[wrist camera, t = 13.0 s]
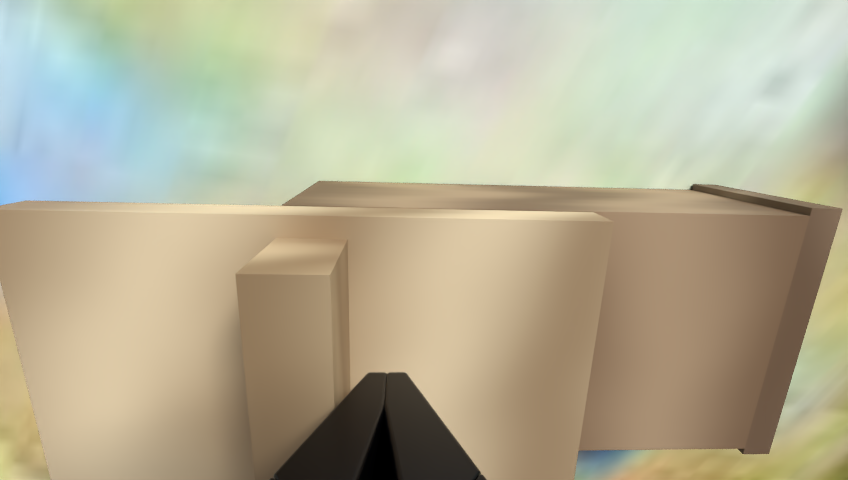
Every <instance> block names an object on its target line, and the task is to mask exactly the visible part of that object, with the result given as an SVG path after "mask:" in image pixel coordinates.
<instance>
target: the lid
mask: <svg viewBox="0 0 848 480" xmlns="http://www.w3.org/2000/svg"><path fill="white" fill-rule="evenodd" d="M613 224H614V221H612V220H609V219H607V218H605V217H603V216H601V215H598V214H596V213H594V212H554V211H506V210H457V209H409V208H360V207H312V206H263V205H215V204H166V203H118V202H69V201H21V202H16V203H11V204H6V205H1V206H0V282H1V286H2V290H3V294H4V298H5V301H6V305H7V309H8V313H9V317H10V321H11V325H12V329H13V333H14V337H15V341H16V345H17V349H18V352H19V356H20V360H21V364H22V368H23V372H24V376H25V380H26V384H27V388H28V392H29V396H30V400H31V404H32V407H33V411H34V415H35V419H36V423H37V427H38V431H39V435H40V439H41V443H42V447H43V451H44V455H45V459H46V462H47V466H48V470H49V474H50V478H51V480H269V479H270V478H273V475H274V474H275V472H276V471H277V470H278V469H279V468H280V467H281V466H282V465H283V464H284V463H285V462H286V461H287V460H288V458H289V457H290V456H291V455H292V454H293V453H294V452H295V451H296V450H297V449H298V448H299V447H300V445H301V444H302V443H303V442H304V441H305V440H306V439H307V438H308V437H309V436H310V435H311V434H312V433H313V431H314V430H315V429H316V428H317V427H318V426H319V425H320V424H321V423H322V422H323V421H324V420H325V418H326V417H327V416H328V415H329V414H330V413H331V412H332V411H333V410H334V409H335V408H336V407H337V405H338V404H339V403H340V402H341V401H342V400H343V399H344V398H345V397H346V396H347V395H348V394H349V393H350V391H351V390H352V389H353V388H354V387H355V386H356V385H357V384H358V383H359V382H360V381H361V380H362V378H363V377H364V376H365V375H366V374H367V373H369V372H385V373H389V372H405V373H407V374H408V376H409V377H410V378H411V380H412V381H413V382H414V384H415V385H416V386H417V388H418V389H419V390H420V392H421V393H422V394H423V396H424V397H425V398H426V400H427V401H428V402H429V404H430V405H431V406H432V408H433V409H434V410H435V412H436V413H437V414H438V416H439V417H440V418H441V420H442V421H443V422H444V424H445V425H446V426H447V428H448V429H449V430H450V432H451V433H452V434H453V436H454V437H455V438H456V440H457V441H458V442H459V444H460V445H461V446H462V448H463V449H464V450H465V452H466V453H467V454H468V456H469V457H470V458H471V460H472V461H473V462H474V464H475V465H476V466H477V468H478V469H479V470H480V472H481V474H482V475H484V477H485V478H486V479H487V480H574V476H575V470H576V463H577V457H578V450H579V444H580V438H581V431H582V425H583V418H584V412H585V405H586V399H587V392H588V386H589V379H590V373H591V366H592V360H593V354H594V347H595V341H596V334H597V328H598V321H599V315H600V308H601V302H602V295H603V289H604V282H605V276H606V270H607V263H608V257H609V250H610V244H611V237H612V231H613Z"/></svg>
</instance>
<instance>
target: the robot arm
mask: <svg viewBox="0 0 848 480" xmlns="http://www.w3.org/2000/svg"><path fill="white" fill-rule="evenodd" d="M269 480H487V479H486V478H485V477H484V475H482V474H481V472H480V470H479V469H478V468H477V466H476V465H475V464H474V462H473V461H472V460H471V458H470V457H469V456H468V454H467V453H466V452H465V450H464V449H463V448H462V446H461V445H460V444H459V442H458V441H457V440H456V438H455V437H454V436H453V434H452V433H451V432H450V430H449V429H448V428H447V426H446V425H445V424H444V422H443V421H442V420H441V418H440V417H439V416H438V414H437V413H436V412H435V410H434V409H433V408H432V406H431V405H430V404H429V402H428V401H427V400H426V398H425V397H424V396H423V394H422V393H421V392H420V390H419V389H418V388H417V386H416V385H415V384H414V382H413V381H412V380H411V378H410V377H409V376H408V374H407V373H405V372H389V373H385V372H369V373H367V374H366V375H365V376H364V377H363V378H362V380H361V381H360V382H359V383H358V384H357V385H356V386H355V387H354V388H353V389H352V390H351V391H350V393H349V394H348V395H347V396H346V397H345V398H344V399H343V400H342V401H341V402H340V403H339V404H338V405H337V407H336V408H335V409H334V410H333V411H332V412H331V413H330V414H329V415H328V416H327V417H326V418H325V420H324V421H323V422H322V423H321V424H320V425H319V426H318V427H317V428H316V429H315V430H314V431H313V433H312V434H311V435H310V436H309V437H308V438H307V439H306V440H305V441H304V442H303V443H302V444H301V445H300V447H299V448H298V449H297V450H296V451H295V452H294V453H293V454H292V455H291V456H290V457H289V458H288V460H287V461H286V462H285V463H284V464H283V465H282V466H281V467H280V468H279V469H278V470H277V471H276V472H275V474H274V475H273V478H270V479H269Z"/></svg>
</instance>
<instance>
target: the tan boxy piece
mask: <svg viewBox="0 0 848 480" xmlns="http://www.w3.org/2000/svg"><path fill="white" fill-rule="evenodd" d="M282 206H312V207H360V208H409V209H457V210H506V211H554V212H594V213H596V214H598V215H601V216H603V217H605V218H607V219H609V220H612V221H614V224H613V231H612V237H611V244H610V250H609V257H608V263H607V270H606V276H605V282H604V289H603V295H602V302H601V308H600V315H599V321H598V328H597V334H596V341H595V347H594V354H593V360H592V366H591V373H590V379H589V386H588V392H587V399H586V405H585V412H584V418H583V425H582V431H581V438H580V444H579V450H661V449H738V450H739V451H740V452H741V453H742V454H769V452H770V448H771V445H772V442H773V438H774V435H775V432H776V428H777V425H778V422H779V418H780V415H781V412H782V408H783V405H784V402H785V399H786V395H787V392H788V389H789V385H790V382H791V379H792V375H793V372H794V369H795V365H796V362H797V359H798V355H799V352H800V349H801V345H802V342H803V339H804V335H805V332H806V329H807V325H808V322H809V319H810V315H811V312H812V309H813V306H814V302H815V299H816V296H817V292H818V289H819V286H820V282H821V279H822V276H823V272H824V269H825V266H826V262H827V259H828V256H829V252H830V249H831V246H832V242H833V239H834V236H835V232H836V229H837V226H838V222H839V219H840V216H841V213H842V209H841V208H836V207H830V206H825V205H820V204H814V203H809V202H804V201H798V200H793V199H788V198H782V197H777V196H772V195H766V194H761V193H756V192H750V191H745V190H740V189H734V188H729V187H724V186H719V185H701V184H693V188H692V190H672V189H630V188H588V187H547V186H505V185H463V184H422V183H380V182H338V181H318V182H317V183H315V184H314V185H312V186H311V187H309V188H308V189H306V190H304V191H303V192H301V193H300V194H298V195H297V196H295V197H294V198H292V199H291V200H289V201H288V202H286V203H285V204H283V205H282Z"/></svg>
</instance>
